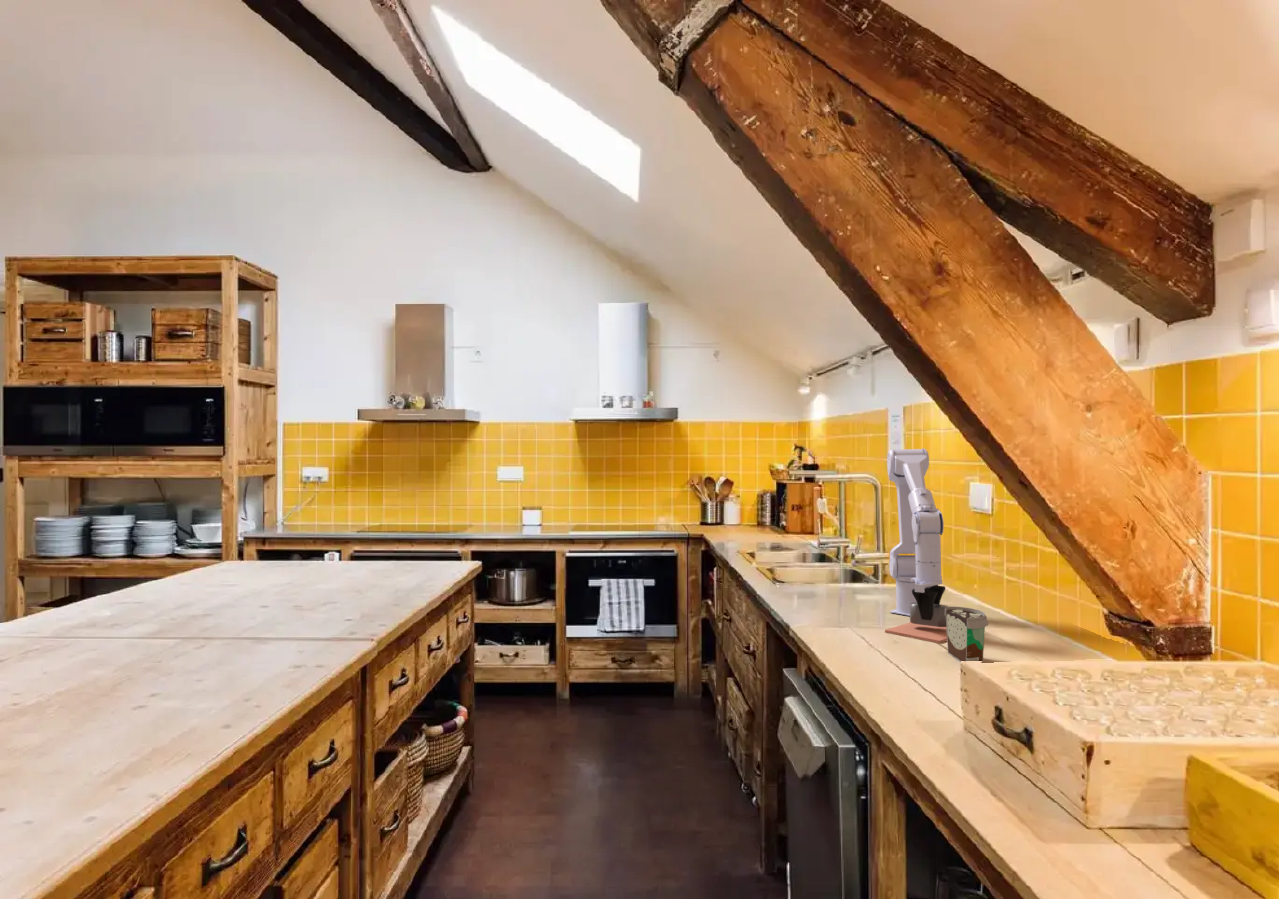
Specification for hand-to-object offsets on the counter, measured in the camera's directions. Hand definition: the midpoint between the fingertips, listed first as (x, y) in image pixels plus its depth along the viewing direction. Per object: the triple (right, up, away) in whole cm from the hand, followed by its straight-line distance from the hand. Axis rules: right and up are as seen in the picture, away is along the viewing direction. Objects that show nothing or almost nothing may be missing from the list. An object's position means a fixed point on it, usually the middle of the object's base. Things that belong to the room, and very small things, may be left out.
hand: (929, 617), depth 178 cm
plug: (0, -1, 0) cm, 1 cm away
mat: (0, -3, 0) cm, 3 cm away
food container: (0, -4, -23) cm, 24 cm away
